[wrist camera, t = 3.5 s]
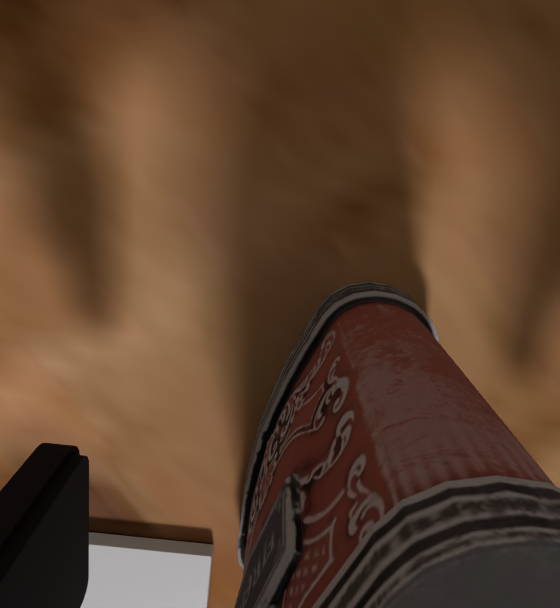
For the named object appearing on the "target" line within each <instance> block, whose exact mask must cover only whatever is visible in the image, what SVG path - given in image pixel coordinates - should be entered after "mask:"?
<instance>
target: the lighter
mask: <svg viewBox="0 0 560 608" xmlns="http://www.w3.org/2000/svg"><path fill="white" fill-rule="evenodd" d="M237 553H238V560H239V564H240V565H241V567H242V569H243V580H242V583H241V587H240V590H239V594H238V597H237V601H236V604H235V608H560V488H558V487H556V486H555V485H554V484H553V483H552V481H551V480H550V479H549V478H548V476H547V475H546V474H545V473H544V471H543V470H542V469H541V468H540V467H539V465H538V464H537V463H536V462H535V460H534V459H533V458H532V457H531V456H530V454H529V453H528V452H527V451H526V449H525V448H524V447H523V446H522V444H521V443H520V442H519V441H518V440H517V438H516V437H515V436H514V435H513V433H512V432H511V431H510V430H509V429H508V427H507V426H506V425H505V424H504V422H503V421H502V420H501V419H500V417H499V416H498V415H497V414H496V413H495V411H494V410H493V409H492V408H491V406H490V405H489V404H488V403H487V402H486V400H485V399H484V398H483V397H482V395H481V394H480V393H479V392H478V390H477V389H476V388H475V387H474V386H473V384H472V383H471V382H470V381H469V379H468V378H467V377H466V376H465V375H464V373H463V372H462V371H461V370H460V368H459V367H458V366H457V365H456V363H455V362H454V361H453V360H452V359H451V357H450V356H449V355H448V354H447V352H446V351H445V350H444V349H443V348H442V346H441V345H440V344H439V336H438V334H437V331H436V329H435V327H434V324H433V322H432V320H431V319H430V317H429V316H428V315H427V314H426V313H425V312H424V311H423V310H422V308H421V307H420V306H419V305H418V304H417V303H416V302H415V301H414V300H413V299H412V298H411V297H410V296H409V295H408V294H407V293H405V292H403V291H401V290H399V289H397V288H395V287H393V286H391V285H388V284H381V283H375V282H369V281H368V282H361V283H354V284H348V285H346V286H344V287H342V288H340V289H338V290H336V291H334V292H332V293H331V294H330V295H329V296H328V297H327V298H326V299H325V300H324V301H323V302H322V304H321V305H320V306H319V307H318V309H317V311H316V312H315V314H314V316H313V317H312V319H311V321H310V322H309V324H308V326H307V327H306V329H305V331H304V332H303V334H302V336H301V337H300V339H299V341H298V342H297V344H296V346H295V347H294V349H293V351H292V352H291V354H290V356H289V357H288V359H287V361H286V363H285V365H284V367H283V369H282V372H281V374H280V376H279V378H278V381H277V383H276V385H275V388H274V390H273V392H272V394H271V397H270V399H269V401H268V403H267V406H266V408H265V410H264V412H263V415H262V417H261V420H260V424H259V427H258V431H257V435H256V439H255V442H254V446H253V450H252V454H251V458H250V461H249V465H248V469H247V473H246V480H245V488H244V496H243V505H242V513H241V522H240V530H239V539H238V547H237Z"/></svg>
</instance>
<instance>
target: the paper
mask: <svg viewBox="0 0 560 608" xmlns="http://www.w3.org/2000/svg"><path fill="white" fill-rule="evenodd" d="M212 555H213V544H203V543H193V542H183V541H173V540H163V539H153V538H143V537H133V536H123V535H113V534H103V533H93V532H89V580H88V586H87V590H86V594H85V597H84V600H83V603H82V605H81V607H80V608H208V598H209V587H210V577H211V566H212Z"/></svg>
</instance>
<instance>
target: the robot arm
mask: <svg viewBox="0 0 560 608" xmlns="http://www.w3.org/2000/svg"><path fill="white" fill-rule="evenodd" d="M88 580H89V460H88V457H87V456H82V455H79V449H78V447H76V446H71V445H61V444H52V443H42V444H40V445H39V446H38V447H37V448H36V449H35V450H34V452H33V453H32V454H31V455H30V456H29V458H28V459H27V460H26V461H25V462H24V464H23V465H22V466H21V467H20V468H19V470H18V471H17V472H16V473H15V474H14V476H13V477H12V478H11V479H10V480H9V482H8V483H7V484H6V485H5V486H4V488H3V489H2V490H1V491H0V608H80V607H81V605H82V603H83V600H84V597H85V594H86V590H87V586H88Z"/></svg>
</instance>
